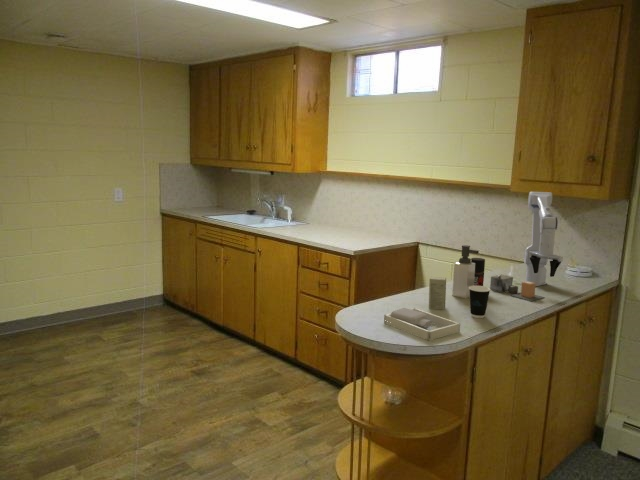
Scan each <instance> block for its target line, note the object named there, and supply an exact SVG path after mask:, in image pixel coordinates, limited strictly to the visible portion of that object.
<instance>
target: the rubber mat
mask: <svg viewBox="0 0 640 480" xmlns="http://www.w3.org/2000/svg"><path fill="white" fill-rule="evenodd" d="M510 297H511V298H512V297H513V298H516V299H519V300H525V301H528V302H535V301H540V300H543V299H545V298H546V297H545V296H541V295H538V294H535V296H534V297H531V298H527V297H524V296H521V292H518V294H511V295H510Z"/></svg>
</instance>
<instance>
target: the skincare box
mask: <svg viewBox="0 0 640 480" xmlns="http://www.w3.org/2000/svg"><path fill="white" fill-rule="evenodd" d="M428 289H429V290H428V309H431V310H432V309H434V310H435V309H436V310H443V311H445V309H446V299H447V297H446V295H447V293H446V292H447V277H437V276H431V277H429V288H428Z"/></svg>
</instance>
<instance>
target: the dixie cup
mask: <svg viewBox="0 0 640 480" xmlns="http://www.w3.org/2000/svg"><path fill="white" fill-rule="evenodd" d="M469 289H470V297H469V306H470V307H469V308H470V309H469V310H470V316H471V317H472V318H475V319H484V318H485V315H486V312H487V306H488V302H489V298H490V297H489V296H490V292H491V291H492V290H491V289H490V287H488V286H484V285H483V286H470V287H469Z"/></svg>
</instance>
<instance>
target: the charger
mask: <svg viewBox="0 0 640 480" xmlns="http://www.w3.org/2000/svg"><path fill="white" fill-rule="evenodd" d="M411 309H412V308H407V307H401V308H399V309H396V310H393V311H391V317H394V318H396V319H399V320H402V321H404V322H407V323H410V324H412V325H415V326H418V327H420V328H423V329H428V328H429V327H433V326H436V324H434V323H433V322H432V321H430V320H426V314H425V313H422V312H418V311H414V310H411Z"/></svg>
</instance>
